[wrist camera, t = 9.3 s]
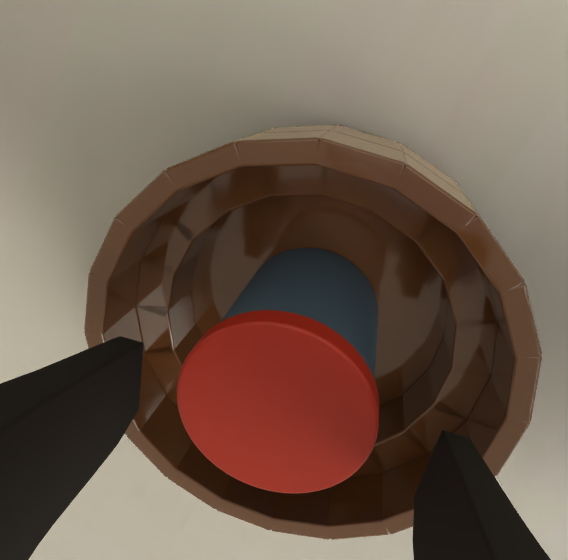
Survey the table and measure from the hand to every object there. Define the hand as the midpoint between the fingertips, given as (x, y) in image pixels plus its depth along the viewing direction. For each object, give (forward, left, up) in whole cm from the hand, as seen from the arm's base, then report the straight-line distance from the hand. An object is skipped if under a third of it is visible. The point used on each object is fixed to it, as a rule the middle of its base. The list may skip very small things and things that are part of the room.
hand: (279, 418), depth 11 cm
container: (0, 0, -6) cm, 6 cm away
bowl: (0, 0, -6) cm, 6 cm away
